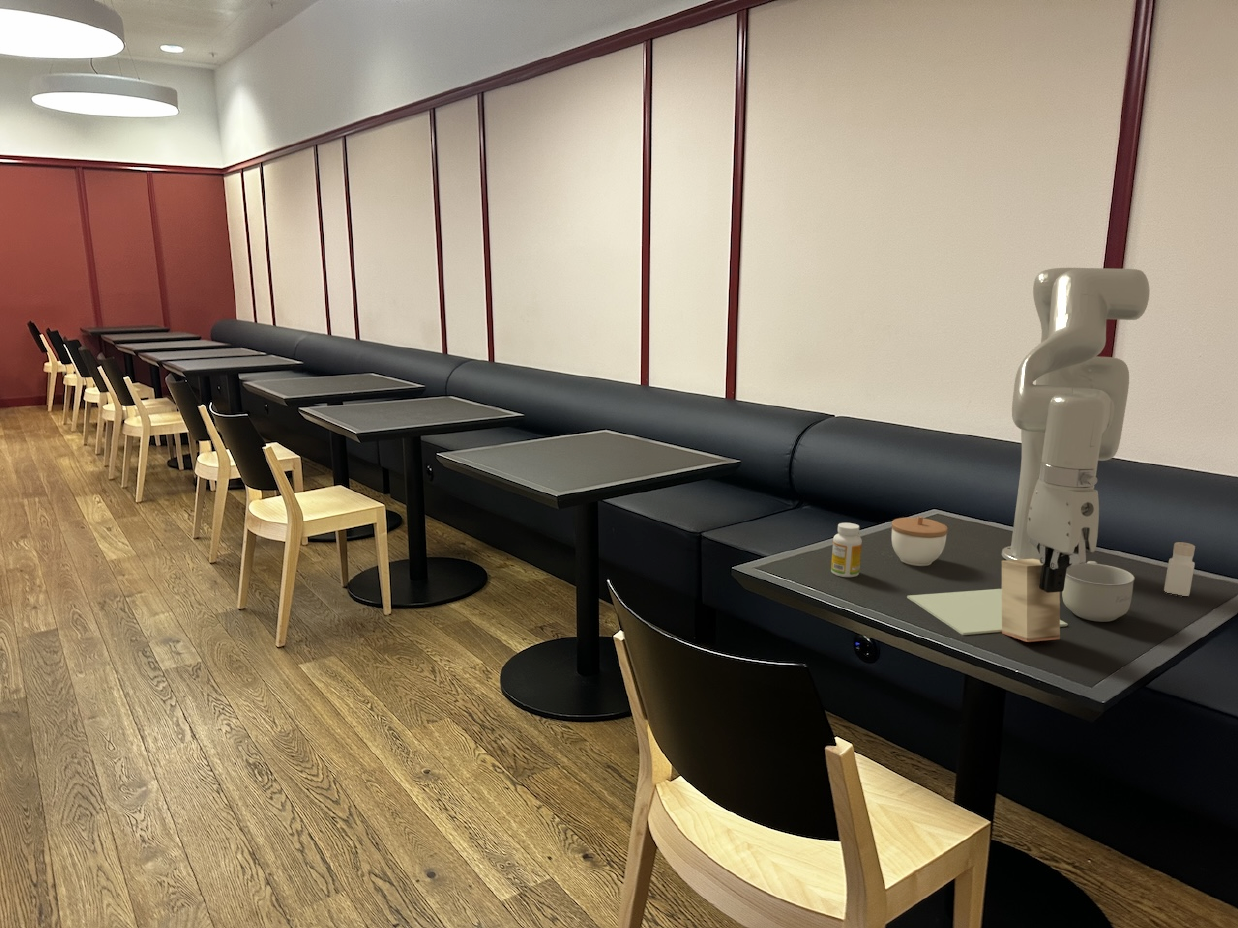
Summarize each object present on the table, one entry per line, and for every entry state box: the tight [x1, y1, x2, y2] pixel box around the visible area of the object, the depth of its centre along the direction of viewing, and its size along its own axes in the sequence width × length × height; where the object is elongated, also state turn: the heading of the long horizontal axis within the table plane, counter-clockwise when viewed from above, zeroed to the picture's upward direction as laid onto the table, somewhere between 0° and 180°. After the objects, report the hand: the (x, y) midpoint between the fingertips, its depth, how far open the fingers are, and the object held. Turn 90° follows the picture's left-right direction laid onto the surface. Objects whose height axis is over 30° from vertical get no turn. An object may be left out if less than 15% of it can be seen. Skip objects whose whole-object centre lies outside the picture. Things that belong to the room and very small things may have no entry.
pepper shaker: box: [1163, 541, 1196, 597], centre depth 160 cm, size 4×4×10 cm
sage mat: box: [906, 588, 1068, 636], centre depth 150 cm, size 20×16×1 cm
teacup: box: [1061, 560, 1135, 623], centre depth 150 cm, size 14×11×8 cm
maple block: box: [1001, 559, 1061, 643], centre depth 139 cm, size 6×6×12 cm
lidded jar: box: [890, 515, 949, 567], centre depth 175 cm, size 11×11×9 cm
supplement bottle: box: [830, 522, 863, 578], centre depth 167 cm, size 5×5×10 cm
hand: (1051, 590), depth 134 cm, fingers closed
